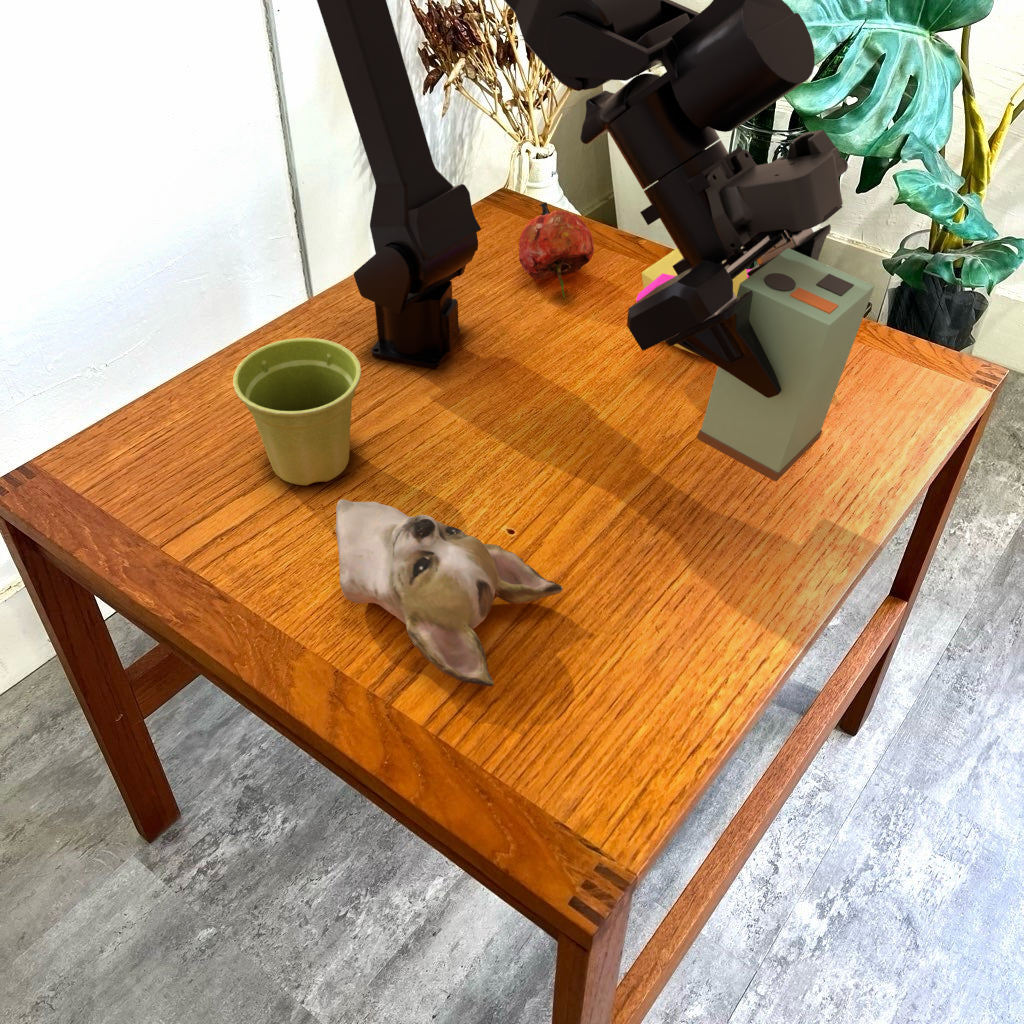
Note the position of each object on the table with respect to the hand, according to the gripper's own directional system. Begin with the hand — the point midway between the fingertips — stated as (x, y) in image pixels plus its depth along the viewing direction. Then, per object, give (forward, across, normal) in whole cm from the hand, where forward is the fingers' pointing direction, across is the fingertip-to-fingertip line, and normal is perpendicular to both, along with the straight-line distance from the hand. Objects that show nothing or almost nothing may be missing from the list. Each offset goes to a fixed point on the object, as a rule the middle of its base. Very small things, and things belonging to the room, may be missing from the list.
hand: (800, 370), depth 69 cm
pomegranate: (-13, +17, +33) cm, 40 cm away
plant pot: (-12, -18, +32) cm, 38 cm away
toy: (-2, +17, +22) cm, 27 cm away
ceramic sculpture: (+1, -23, +19) cm, 30 cm away
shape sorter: (+4, 0, +6) cm, 7 cm away
